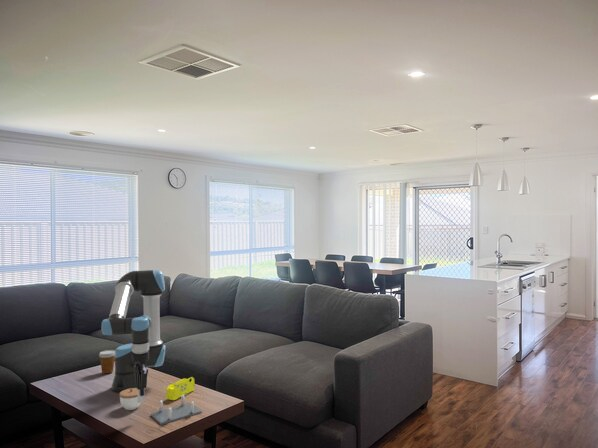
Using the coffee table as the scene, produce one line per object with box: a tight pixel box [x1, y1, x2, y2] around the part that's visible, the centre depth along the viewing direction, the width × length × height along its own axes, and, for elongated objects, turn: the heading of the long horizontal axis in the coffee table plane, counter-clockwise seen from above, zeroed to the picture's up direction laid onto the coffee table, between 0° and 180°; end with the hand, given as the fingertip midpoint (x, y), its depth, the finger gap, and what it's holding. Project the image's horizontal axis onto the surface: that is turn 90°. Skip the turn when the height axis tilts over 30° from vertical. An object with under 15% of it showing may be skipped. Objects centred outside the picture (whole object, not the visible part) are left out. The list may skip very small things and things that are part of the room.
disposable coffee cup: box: [98, 349, 115, 374], centre depth 275 cm, size 10×10×12 cm
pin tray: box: [150, 395, 203, 426], centre depth 213 cm, size 13×20×6 cm, turn 128°
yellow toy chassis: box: [165, 376, 195, 401], centre depth 237 cm, size 16×6×8 cm, turn 153°
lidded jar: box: [119, 388, 141, 411], centre depth 222 cm, size 11×11×9 cm
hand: (141, 401), depth 208 cm, fingers closed
